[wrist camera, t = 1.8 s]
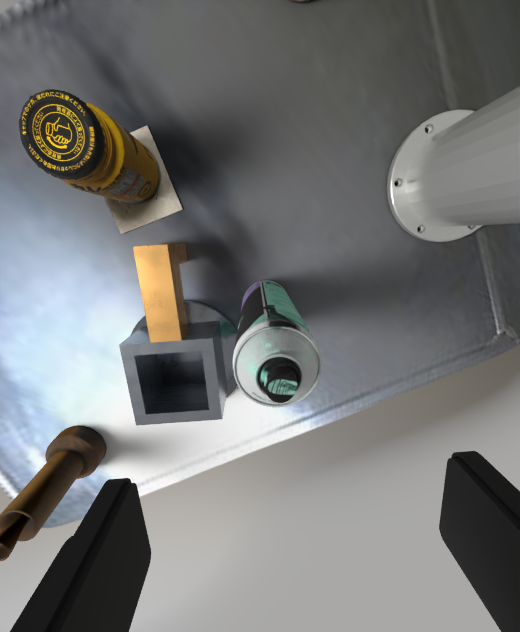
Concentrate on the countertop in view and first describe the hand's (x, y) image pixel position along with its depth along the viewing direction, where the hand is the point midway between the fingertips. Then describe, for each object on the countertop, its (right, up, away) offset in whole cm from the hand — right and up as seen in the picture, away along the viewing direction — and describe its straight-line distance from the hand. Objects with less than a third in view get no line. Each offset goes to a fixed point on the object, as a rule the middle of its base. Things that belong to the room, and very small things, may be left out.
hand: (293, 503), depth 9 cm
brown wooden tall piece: (-25, -12, +30) cm, 41 cm away
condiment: (-14, +20, +22) cm, 33 cm away
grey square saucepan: (-10, +4, +26) cm, 28 cm away
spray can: (0, +7, +26) cm, 27 cm away
